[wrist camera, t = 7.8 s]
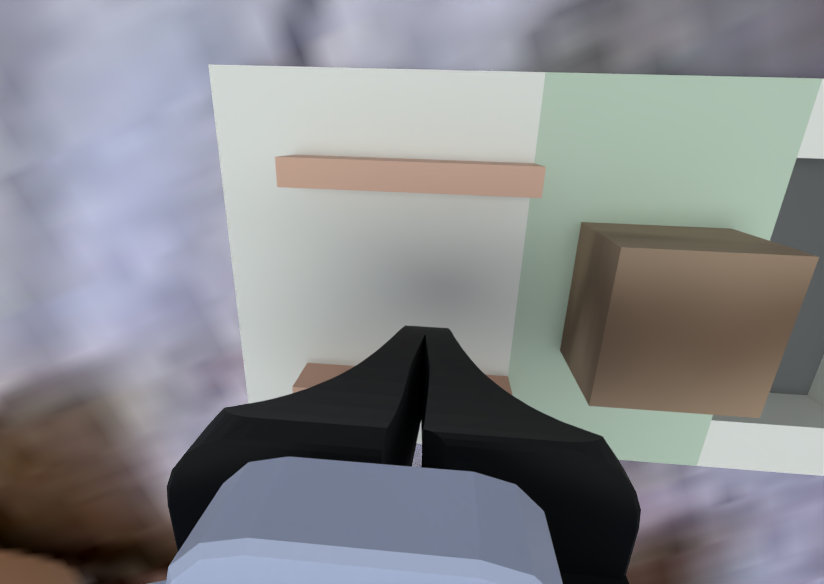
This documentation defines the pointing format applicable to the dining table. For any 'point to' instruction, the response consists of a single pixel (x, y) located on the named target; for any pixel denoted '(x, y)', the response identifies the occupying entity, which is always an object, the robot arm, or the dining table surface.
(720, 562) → the dining table surface
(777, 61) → the dining table surface
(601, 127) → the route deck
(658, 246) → the walnut block
